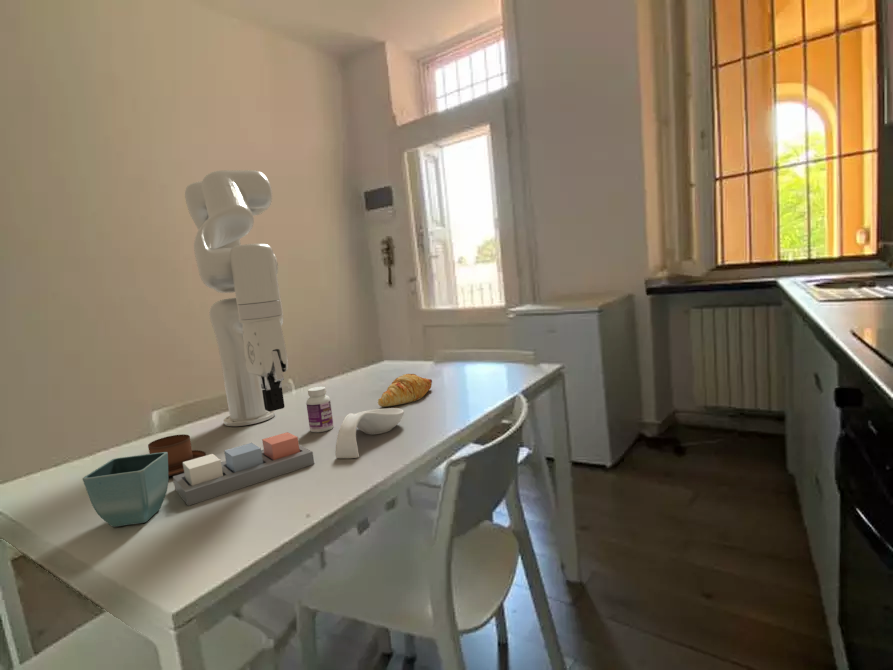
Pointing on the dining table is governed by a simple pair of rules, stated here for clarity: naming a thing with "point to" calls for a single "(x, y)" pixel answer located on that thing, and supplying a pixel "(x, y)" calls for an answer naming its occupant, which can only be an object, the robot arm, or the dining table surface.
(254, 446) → the key blue
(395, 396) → the croissant
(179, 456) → the cup and saucer
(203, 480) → the key white
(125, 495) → the flower pot
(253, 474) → the grey flat tray
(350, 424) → the spoon rest
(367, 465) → the dining table surface
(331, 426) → the pill bottle
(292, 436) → the key red
